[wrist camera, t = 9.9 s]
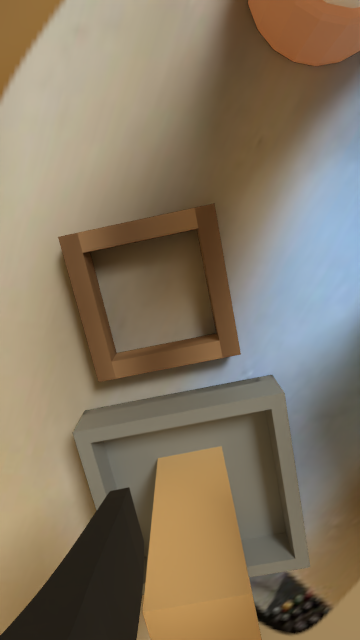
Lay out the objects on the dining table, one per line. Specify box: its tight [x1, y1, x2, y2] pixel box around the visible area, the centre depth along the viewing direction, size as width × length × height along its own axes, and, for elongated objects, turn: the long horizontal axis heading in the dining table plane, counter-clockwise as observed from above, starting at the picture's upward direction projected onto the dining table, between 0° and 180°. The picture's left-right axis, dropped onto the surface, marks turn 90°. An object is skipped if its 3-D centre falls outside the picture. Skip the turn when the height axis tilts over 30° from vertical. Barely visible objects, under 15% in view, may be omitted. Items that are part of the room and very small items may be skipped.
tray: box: [73, 375, 310, 595], centre depth 21 cm, size 12×12×2 cm
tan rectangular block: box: [143, 446, 262, 640], centre depth 17 cm, size 4×4×9 cm
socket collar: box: [58, 204, 241, 382], centre depth 19 cm, size 8×8×2 cm
